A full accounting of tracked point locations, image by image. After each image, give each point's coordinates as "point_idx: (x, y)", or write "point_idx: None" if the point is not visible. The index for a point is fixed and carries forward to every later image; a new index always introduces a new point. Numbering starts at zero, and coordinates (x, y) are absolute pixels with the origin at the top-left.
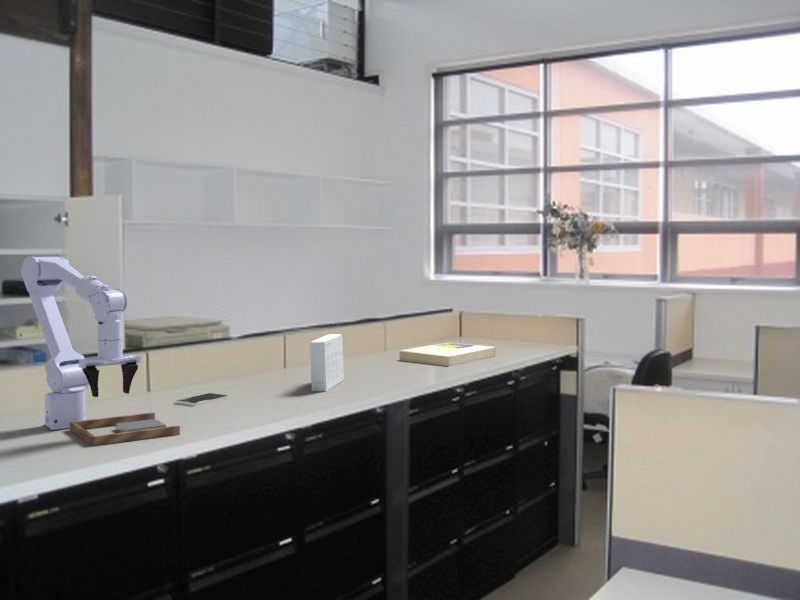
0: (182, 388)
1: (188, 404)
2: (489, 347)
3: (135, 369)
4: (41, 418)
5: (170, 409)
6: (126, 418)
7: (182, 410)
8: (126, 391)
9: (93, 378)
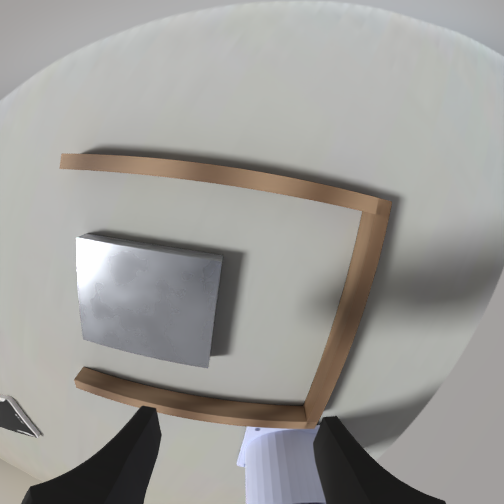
0: (37, 470)
1: (18, 408)
2: None
3: (48, 491)
4: None
5: (46, 413)
6: (153, 399)
7: (26, 390)
8: (153, 416)
9: (397, 487)
